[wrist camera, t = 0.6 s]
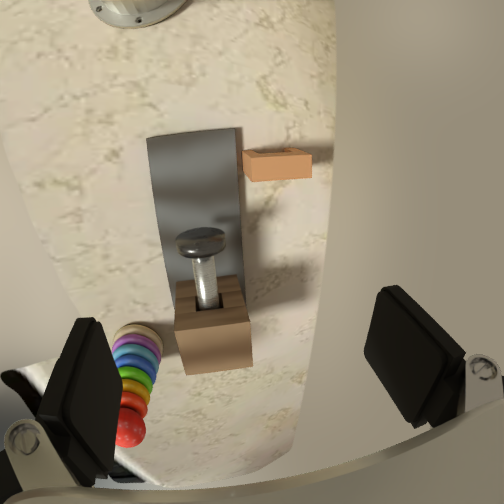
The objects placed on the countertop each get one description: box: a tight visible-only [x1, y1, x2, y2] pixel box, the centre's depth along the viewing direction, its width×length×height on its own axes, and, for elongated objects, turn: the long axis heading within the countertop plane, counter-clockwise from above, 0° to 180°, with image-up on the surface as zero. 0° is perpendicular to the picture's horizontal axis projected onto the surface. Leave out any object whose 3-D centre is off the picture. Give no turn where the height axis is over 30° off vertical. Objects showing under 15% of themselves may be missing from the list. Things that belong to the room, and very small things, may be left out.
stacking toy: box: [112, 324, 163, 448], centre depth 36 cm, size 8×8×19 cm
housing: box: [146, 128, 253, 375], centre depth 34 cm, size 26×10×11 cm, turn 3°
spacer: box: [242, 148, 312, 182], centre depth 34 cm, size 2×6×6 cm, turn 93°
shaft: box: [175, 227, 226, 311], centre depth 35 cm, size 16×5×5 cm, turn 3°
